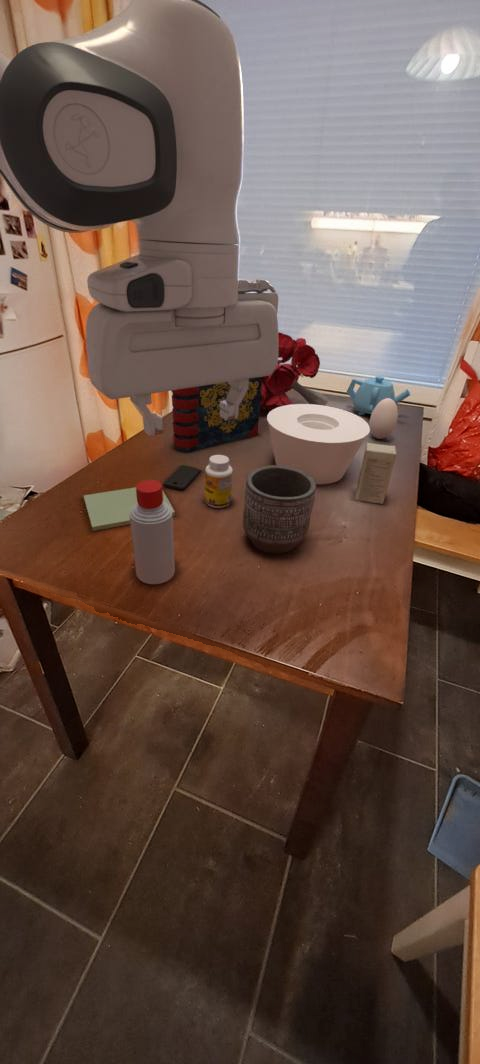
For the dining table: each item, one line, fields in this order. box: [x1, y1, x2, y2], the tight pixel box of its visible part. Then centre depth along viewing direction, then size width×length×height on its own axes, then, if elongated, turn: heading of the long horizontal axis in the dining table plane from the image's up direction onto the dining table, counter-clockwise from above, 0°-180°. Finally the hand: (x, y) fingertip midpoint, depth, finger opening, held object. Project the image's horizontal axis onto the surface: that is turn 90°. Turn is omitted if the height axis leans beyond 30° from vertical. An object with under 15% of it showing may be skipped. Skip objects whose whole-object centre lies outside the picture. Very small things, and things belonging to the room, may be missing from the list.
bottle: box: [129, 502, 176, 585], centre depth 66 cm, size 6×6×16 cm
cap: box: [135, 479, 164, 509], centre depth 62 cm, size 4×4×3 cm
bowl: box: [266, 403, 371, 485], centre depth 102 cm, size 24×24×12 cm
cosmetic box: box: [354, 442, 397, 505], centre depth 91 cm, size 6×4×12 cm
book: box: [171, 377, 262, 453], centre depth 108 cm, size 25×7×25 cm, turn 126°
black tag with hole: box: [163, 464, 202, 491], centre depth 96 cm, size 5×1×10 cm
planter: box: [242, 464, 317, 555], centre depth 76 cm, size 12×12×13 cm
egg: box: [368, 398, 399, 440], centre depth 120 cm, size 7×7×12 cm
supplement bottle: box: [204, 454, 234, 509], centre depth 86 cm, size 6×6×10 cm
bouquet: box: [260, 331, 329, 412], centre depth 133 cm, size 22×24×30 cm
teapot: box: [346, 375, 411, 416], centre depth 137 cm, size 20×17×12 cm
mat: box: [83, 486, 176, 532], centre depth 85 cm, size 16×12×1 cm
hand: (193, 425), depth 46 cm, fingers open, 8 cm apart
